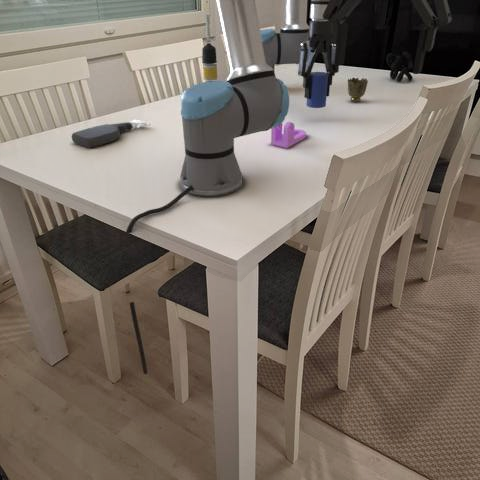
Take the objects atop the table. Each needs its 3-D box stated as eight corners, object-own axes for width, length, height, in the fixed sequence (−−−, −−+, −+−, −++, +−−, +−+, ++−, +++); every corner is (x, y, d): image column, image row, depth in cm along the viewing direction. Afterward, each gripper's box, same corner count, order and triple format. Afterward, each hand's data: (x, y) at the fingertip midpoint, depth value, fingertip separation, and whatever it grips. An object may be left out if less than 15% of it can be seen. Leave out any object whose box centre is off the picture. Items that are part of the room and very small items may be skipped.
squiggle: (400, 92, 202) (376, 71, 205) (417, 76, 202) (392, 56, 205) (405, 81, 191) (380, 59, 194) (423, 64, 191) (397, 42, 194)
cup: (343, 102, 170) (345, 80, 166) (348, 97, 176) (350, 76, 172) (362, 104, 167) (365, 82, 163) (367, 99, 173) (370, 78, 169)
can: (329, 107, 148) (331, 74, 142) (311, 108, 146) (313, 76, 141) (320, 102, 153) (323, 71, 147) (303, 104, 151) (305, 72, 146)
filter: (220, 99, 177) (217, 15, 161) (206, 100, 176) (202, 16, 160) (215, 96, 182) (212, 14, 166) (202, 97, 180) (197, 14, 164)
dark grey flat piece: (70, 142, 137) (133, 123, 153) (90, 149, 131) (154, 129, 147) (68, 132, 136) (131, 115, 152) (89, 139, 130) (153, 120, 146)
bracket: (287, 148, 130) (288, 124, 126) (271, 144, 133) (271, 121, 129) (309, 135, 139) (310, 113, 135) (293, 132, 142) (294, 110, 138)
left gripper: (496, -89, 62) (458, 71, 73) (328, -79, 73) (318, 58, 85) (487, -94, 56) (448, 80, 68) (308, -81, 68) (301, 65, 79)
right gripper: (300, 22, 130) (296, 102, 142) (356, 18, 136) (347, 96, 148) (288, 20, 136) (285, 97, 148) (342, 16, 142) (335, 91, 154)
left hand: (376, 68), depth 76 cm, fingers open, 13 cm apart
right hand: (316, 96), depth 148 cm, fingers closed on can, 6 cm apart
